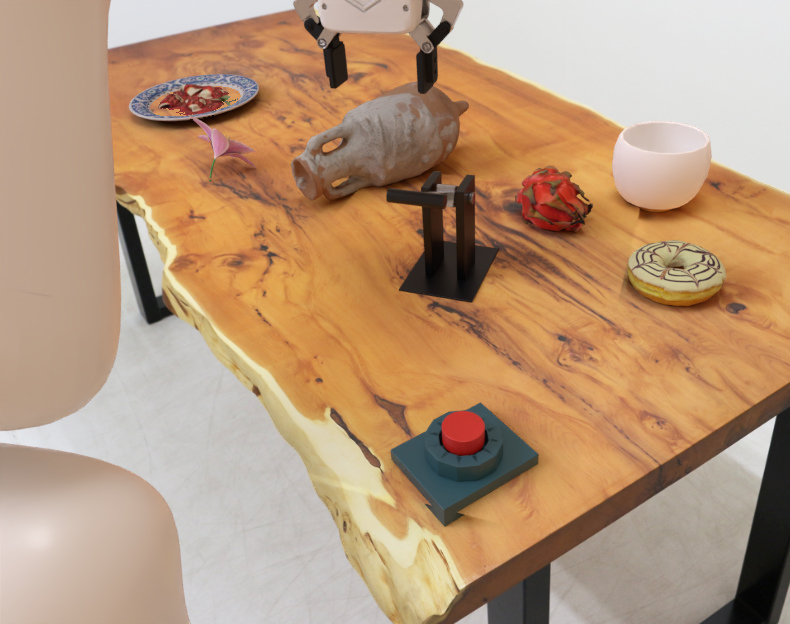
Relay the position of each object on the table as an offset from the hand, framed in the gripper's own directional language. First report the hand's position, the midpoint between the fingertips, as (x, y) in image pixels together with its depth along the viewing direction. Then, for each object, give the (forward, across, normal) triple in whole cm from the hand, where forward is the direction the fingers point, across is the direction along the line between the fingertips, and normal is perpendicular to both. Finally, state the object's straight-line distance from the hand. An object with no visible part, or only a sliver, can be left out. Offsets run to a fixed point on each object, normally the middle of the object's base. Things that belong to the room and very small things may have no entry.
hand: (381, 86), depth 73 cm
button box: (+24, +16, -26) cm, 39 cm away
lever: (+12, +6, -2) cm, 14 cm away
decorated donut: (+24, +32, +8) cm, 40 cm away
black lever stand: (+24, +6, +3) cm, 25 cm away
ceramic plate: (+24, -62, +50) cm, 83 cm away
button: (+21, +16, -26) cm, 37 cm away
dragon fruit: (+24, +16, +18) cm, 34 cm away
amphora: (+24, -11, +27) cm, 38 cm away
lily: (+24, -38, +23) cm, 51 cm away
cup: (+24, +28, +28) cm, 46 cm away
